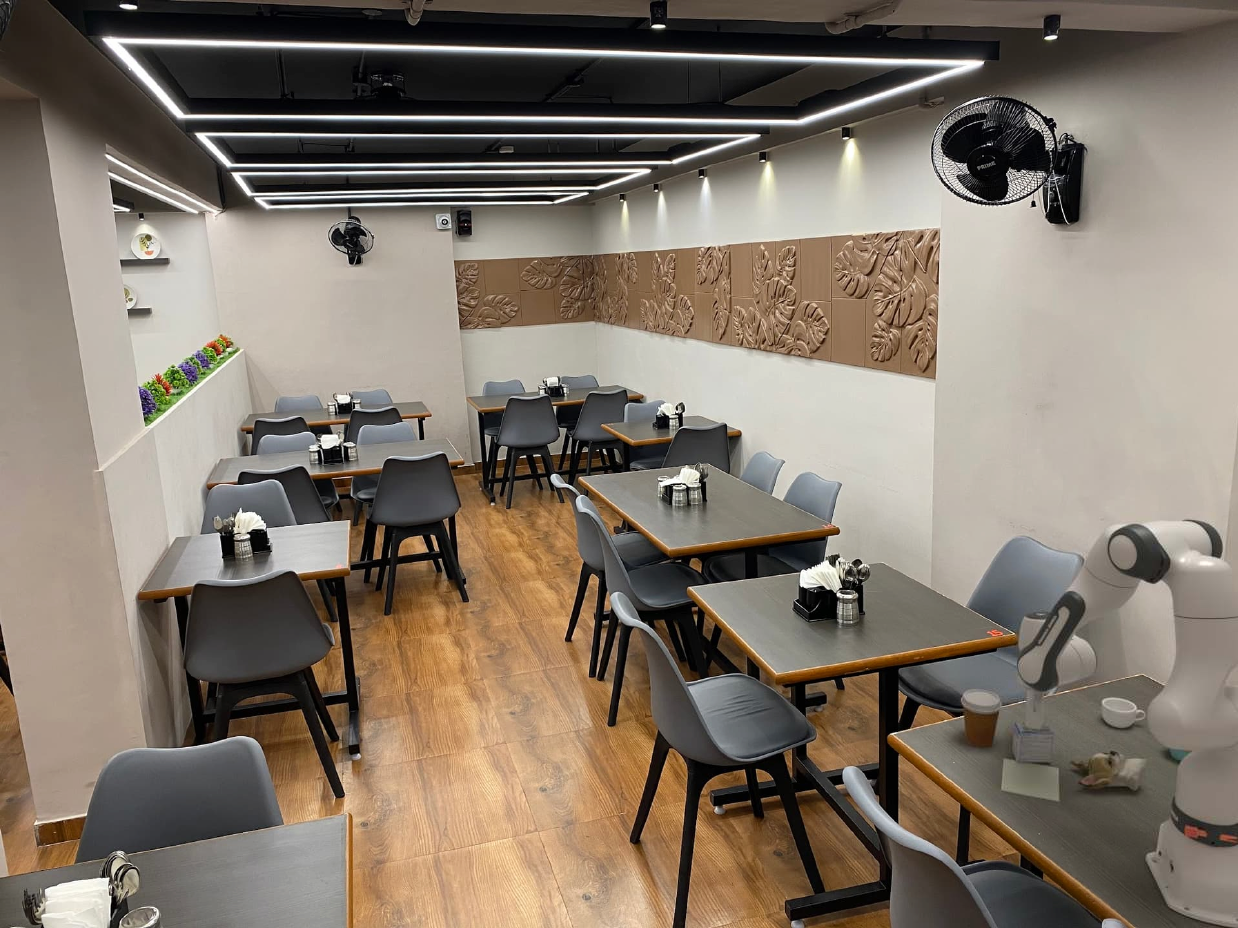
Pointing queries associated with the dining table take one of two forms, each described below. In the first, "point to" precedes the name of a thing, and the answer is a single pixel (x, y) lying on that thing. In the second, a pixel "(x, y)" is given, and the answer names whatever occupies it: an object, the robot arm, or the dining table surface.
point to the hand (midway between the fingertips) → (1033, 727)
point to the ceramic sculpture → (1111, 771)
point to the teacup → (1120, 712)
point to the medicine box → (1032, 743)
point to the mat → (1030, 780)
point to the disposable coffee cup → (980, 716)
